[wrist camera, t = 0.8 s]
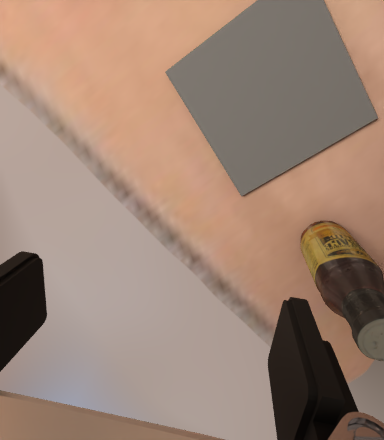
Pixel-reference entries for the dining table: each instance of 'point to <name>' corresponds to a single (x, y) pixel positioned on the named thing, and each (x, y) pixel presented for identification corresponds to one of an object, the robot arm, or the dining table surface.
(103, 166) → the dining table surface
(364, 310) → the sauce bottle
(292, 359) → the robot arm
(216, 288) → the dining table surface
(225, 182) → the dining table surface
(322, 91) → the mat
